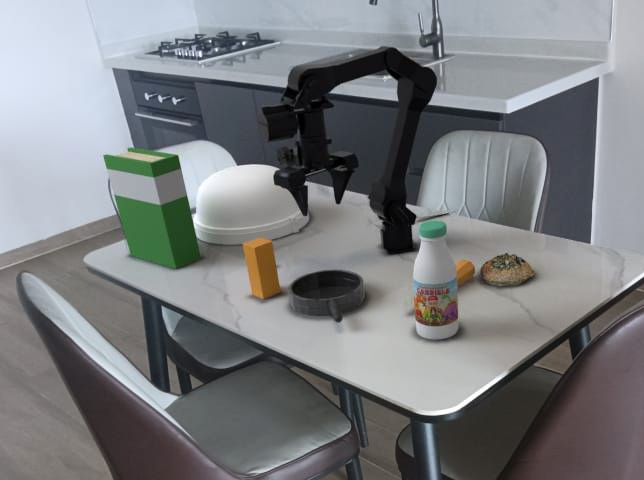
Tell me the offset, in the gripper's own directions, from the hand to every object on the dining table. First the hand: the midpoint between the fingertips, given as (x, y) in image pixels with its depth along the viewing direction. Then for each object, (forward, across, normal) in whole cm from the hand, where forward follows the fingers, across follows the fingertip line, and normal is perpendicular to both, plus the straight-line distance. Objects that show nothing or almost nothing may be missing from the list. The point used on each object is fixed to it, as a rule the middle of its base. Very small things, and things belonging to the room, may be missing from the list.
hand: (321, 209), depth 156 cm
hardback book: (+13, +19, -38) cm, 45 cm away
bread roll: (+13, -18, +35) cm, 42 cm away
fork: (+13, -33, -4) cm, 36 cm away
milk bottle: (+13, +8, +40) cm, 43 cm away
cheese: (+13, +18, 0) cm, 22 cm away
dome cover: (+13, -8, -40) cm, 43 cm away
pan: (+13, +12, +14) cm, 22 cm away
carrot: (+13, -4, +30) cm, 33 cm away
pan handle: (+11, +18, +23) cm, 31 cm away
